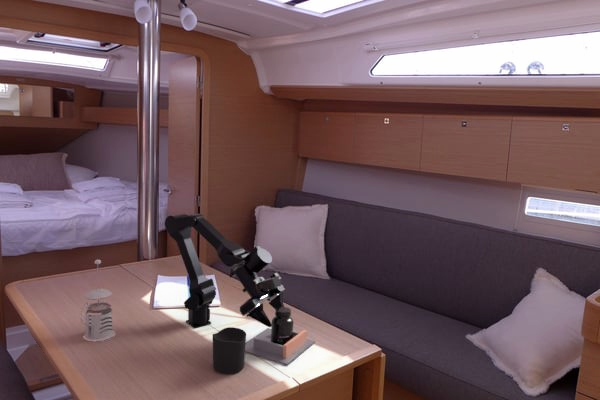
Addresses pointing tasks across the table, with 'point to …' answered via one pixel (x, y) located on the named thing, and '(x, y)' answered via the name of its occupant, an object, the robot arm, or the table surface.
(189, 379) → the table surface
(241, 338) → the pen holder
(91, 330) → the french press
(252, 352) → the bottle holder
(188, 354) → the table surface
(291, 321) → the supplement bottle
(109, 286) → the table surface
